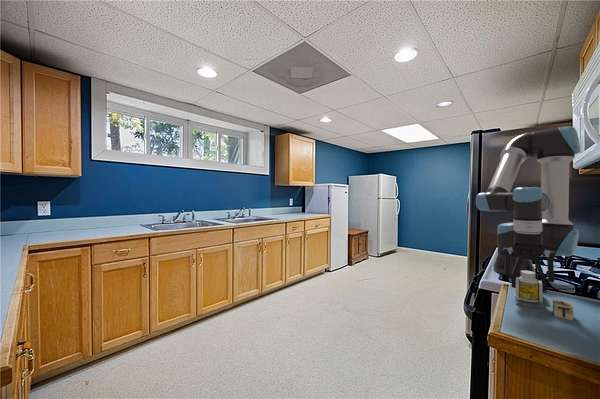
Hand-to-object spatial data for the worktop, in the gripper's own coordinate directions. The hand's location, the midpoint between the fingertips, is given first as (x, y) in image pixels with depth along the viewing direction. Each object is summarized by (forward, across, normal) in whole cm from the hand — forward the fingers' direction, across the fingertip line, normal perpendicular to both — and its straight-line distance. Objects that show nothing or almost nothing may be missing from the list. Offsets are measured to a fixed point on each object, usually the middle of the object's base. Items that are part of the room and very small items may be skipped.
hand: (528, 298), depth 91 cm
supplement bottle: (+1, 0, 0) cm, 1 cm away
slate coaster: (+2, 0, 0) cm, 2 cm away
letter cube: (+2, +8, -6) cm, 10 cm away
